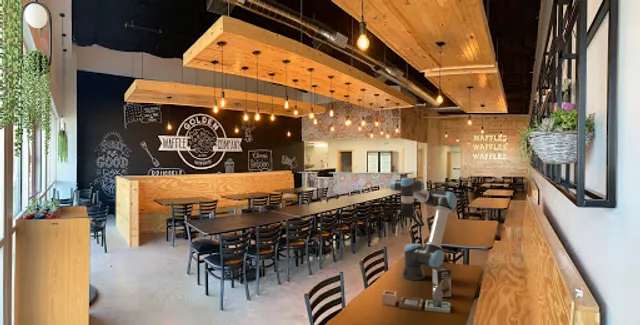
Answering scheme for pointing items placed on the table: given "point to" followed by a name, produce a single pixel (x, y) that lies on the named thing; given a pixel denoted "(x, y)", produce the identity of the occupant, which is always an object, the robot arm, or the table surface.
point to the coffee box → (442, 280)
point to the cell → (437, 296)
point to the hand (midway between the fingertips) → (407, 236)
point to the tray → (430, 307)
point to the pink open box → (389, 297)
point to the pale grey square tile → (411, 302)
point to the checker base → (414, 307)
